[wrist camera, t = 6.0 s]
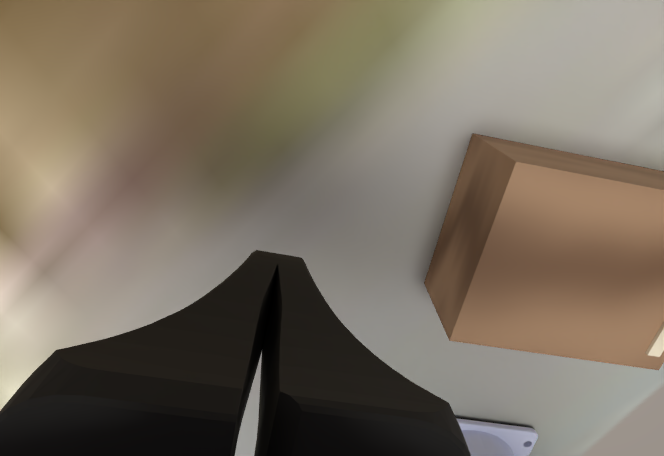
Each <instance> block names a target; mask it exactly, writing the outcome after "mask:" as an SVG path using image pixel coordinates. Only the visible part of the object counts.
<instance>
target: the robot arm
mask: <svg viewBox="0 0 664 456" xmlns="http://www.w3.org/2000/svg"><path fill="white" fill-rule="evenodd" d="M261 352H262V363H261V382H260V402H259V422H258V433H257V441H256V448H255V455H254V456H529V454H530V452H531V450H532V448H533V446H534V445H535V443H536V441H537V439H538V434H537V432H536V431H535V430H534V429H533V428H527V427H520V426H512V425H504V424H496V423H488V422H481V421H473V420H465V419H457V418H456V417H455V415H454V413H453V411H452V409H451V407H450V405H449V403H448V402H446V401H444V400H442V399H441V398H439V397H437V396H435V395H434V394H432V393H430V392H428V391H427V390H425V389H423V388H421V387H420V386H418V385H416V384H414V383H413V382H411V381H410V380H408V379H407V378H405V377H404V376H402V375H401V374H399V373H398V372H396V371H395V370H394V369H392V368H391V367H389V366H388V365H387V364H385V363H384V362H383V361H381V360H380V359H379V358H378V357H377V356H375V355H374V354H373V353H372V352H371V351H370V350H368V349H367V348H366V347H365V346H364V345H363V344H362V343H361V342H360V341H358V340H357V339H356V338H355V337H354V336H353V334H352V333H351V332H350V331H349V330H348V329H347V328H346V327H345V326H344V325H343V324H342V323H341V321H340V320H339V319H338V318H337V317H336V315H335V314H334V313H333V311H332V310H331V308H330V307H329V305H328V304H327V303H326V301H325V299H324V298H323V296H322V295H321V293H320V291H319V290H318V288H317V286H316V284H315V283H314V281H313V279H312V277H311V275H310V273H309V271H308V269H307V266H306V264H305V262H304V260H303V259H302V258H300V257H294V256H288V255H282V254H276V253H270V252H264V251H258V250H256V251H254V252H253V253H251V255H250V256H249V257H248V258H247V260H246V261H245V262H244V263H243V264H242V265H241V266H240V267H239V268H238V269H237V270H236V271H235V272H233V273H232V274H231V275H230V276H229V277H228V278H227V279H226V280H224V281H223V282H222V283H221V284H219V285H218V286H217V287H215V288H214V289H213V290H211V291H210V292H209V293H208V294H206V295H205V296H203V297H202V298H200V299H199V300H197V301H196V302H194V303H193V304H191V305H189V306H188V307H186V308H184V309H182V310H180V311H178V312H176V313H174V314H172V315H170V316H167V317H165V318H163V319H161V320H158V321H156V322H154V323H152V324H149V325H147V326H144V327H141V328H138V329H136V330H133V331H130V332H127V333H124V334H120V335H117V336H114V337H110V338H107V339H103V340H99V341H95V342H90V343H86V344H82V345H77V346H73V347H69V348H64V349H59V350H56V351H55V352H54V353H53V354H52V355H51V356H50V357H49V358H48V359H47V360H46V361H45V362H44V363H43V364H42V365H40V366H39V367H38V368H37V369H36V370H35V371H34V372H33V373H32V375H31V376H30V377H29V378H28V379H27V380H26V381H25V382H24V383H23V384H22V386H21V387H20V388H19V389H18V390H17V392H16V393H15V394H14V395H13V396H12V398H11V399H10V400H9V401H8V402H7V404H6V405H5V406H4V407H3V408H2V410H1V411H0V456H234V455H235V450H236V444H237V439H238V434H239V430H240V426H241V422H242V418H243V414H244V411H245V407H246V404H247V400H248V397H249V393H250V390H251V387H252V383H253V380H254V376H255V373H256V369H257V366H258V362H259V359H260V355H261Z"/></svg>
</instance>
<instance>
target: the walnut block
mask: <svg viewBox="0 0 664 456" xmlns="http://www.w3.org/2000/svg"><path fill="white" fill-rule="evenodd" d="M424 284H425V286H426V288H427V291H428V293H429V295H430V298H431V300H432V302H433V304H434V307H435V309H436V311H437V313H438V316H439V318H440V320H441V322H442V325H443V327H444V329H445V332H446V334H447V336H448V338H449V341H456V342H463V343H470V344H477V345H484V346H491V347H498V348H505V349H513V350H520V351H527V352H534V353H541V354H548V355H555V356H562V357H569V358H576V359H583V360H590V361H598V362H605V363H612V364H619V365H626V366H633V367H640V368H647V369H654V370H659V369H660V367H661V366H662V364H663V362H664V171H659V170H654V169H649V168H644V167H639V166H634V165H629V164H624V163H619V162H614V161H608V160H603V159H598V158H593V157H588V156H583V155H578V154H573V153H568V152H563V151H558V150H553V149H548V148H543V147H538V146H533V145H528V144H523V143H518V142H513V141H508V140H503V139H498V138H493V137H488V136H483V135H478V134H472V137H471V140H470V143H469V146H468V149H467V152H466V155H465V158H464V161H463V165H462V168H461V171H460V174H459V177H458V180H457V183H456V186H455V189H454V192H453V195H452V199H451V202H450V205H449V208H448V211H447V214H446V217H445V220H444V223H443V226H442V229H441V232H440V236H439V239H438V242H437V245H436V248H435V251H434V254H433V257H432V260H431V263H430V266H429V270H428V273H427V276H426V279H425V282H424Z"/></svg>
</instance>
